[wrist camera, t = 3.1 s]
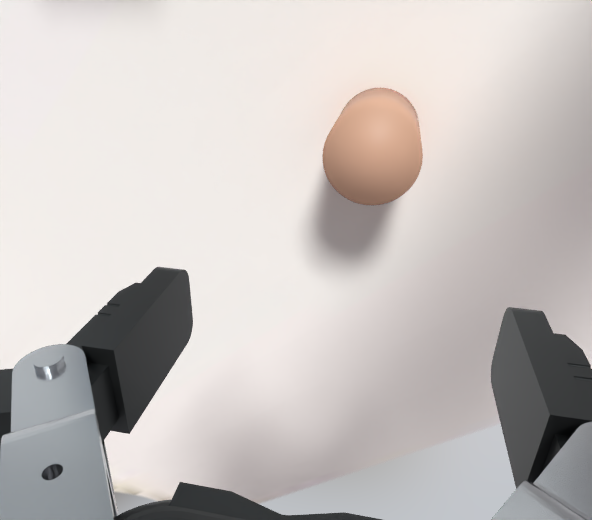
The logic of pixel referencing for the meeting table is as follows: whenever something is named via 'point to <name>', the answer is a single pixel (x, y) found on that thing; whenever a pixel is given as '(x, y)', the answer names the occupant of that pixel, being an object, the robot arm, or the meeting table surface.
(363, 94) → the peach capsule
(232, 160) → the meeting table surface
